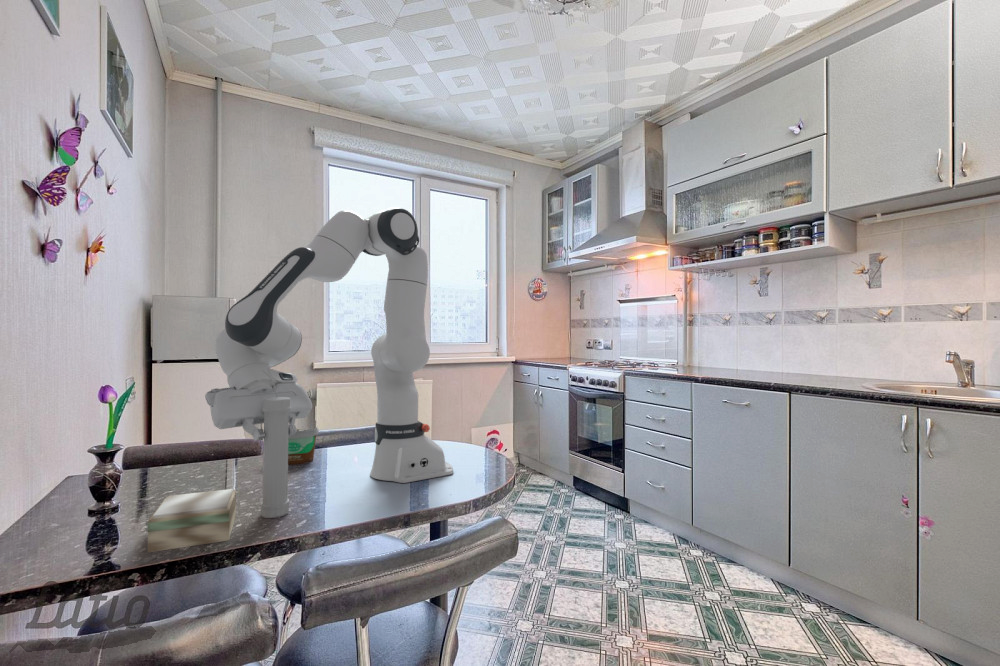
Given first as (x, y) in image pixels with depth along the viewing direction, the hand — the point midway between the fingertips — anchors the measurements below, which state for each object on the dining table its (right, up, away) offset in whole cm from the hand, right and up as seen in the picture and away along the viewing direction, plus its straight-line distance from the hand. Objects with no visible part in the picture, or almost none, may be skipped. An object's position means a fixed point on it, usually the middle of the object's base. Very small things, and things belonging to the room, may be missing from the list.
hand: (276, 435), depth 96 cm
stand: (-10, -16, -10) cm, 22 cm away
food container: (-14, -17, +39) cm, 45 cm away
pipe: (-1, -17, 0) cm, 17 cm away
